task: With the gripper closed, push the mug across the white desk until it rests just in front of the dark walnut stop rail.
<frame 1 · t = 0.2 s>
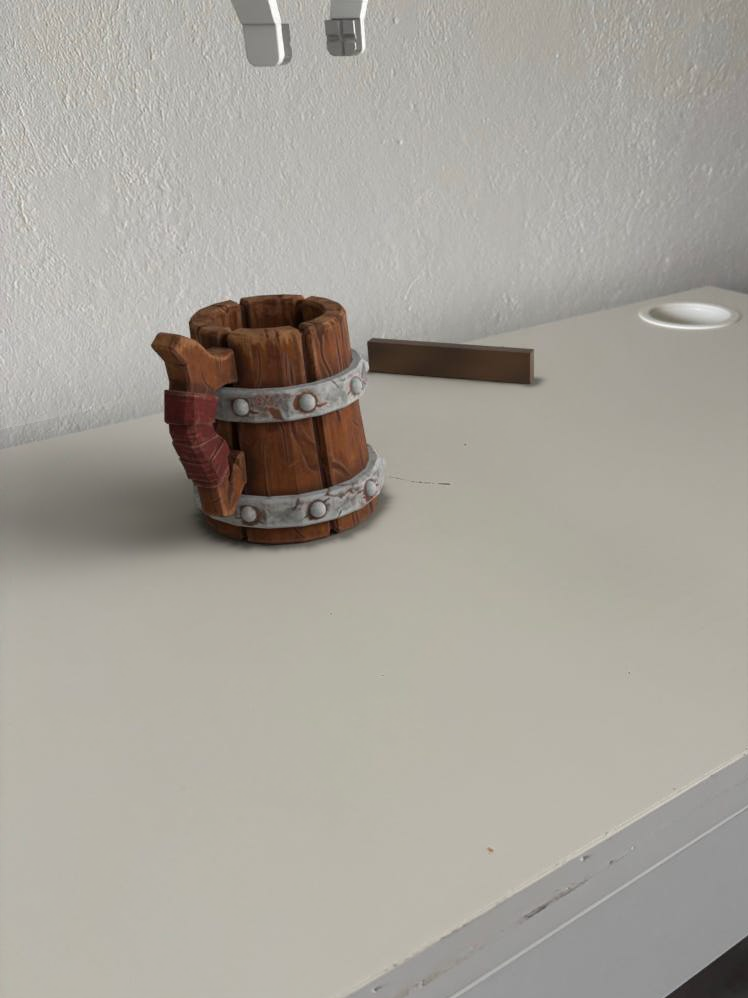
hand: (311, 60, 55), 24 cm above the table, tool pointing down, fingers open, 8 cm apart
stop rail: (450, 375, 85), on the table
mug: (280, 520, 62), on the table
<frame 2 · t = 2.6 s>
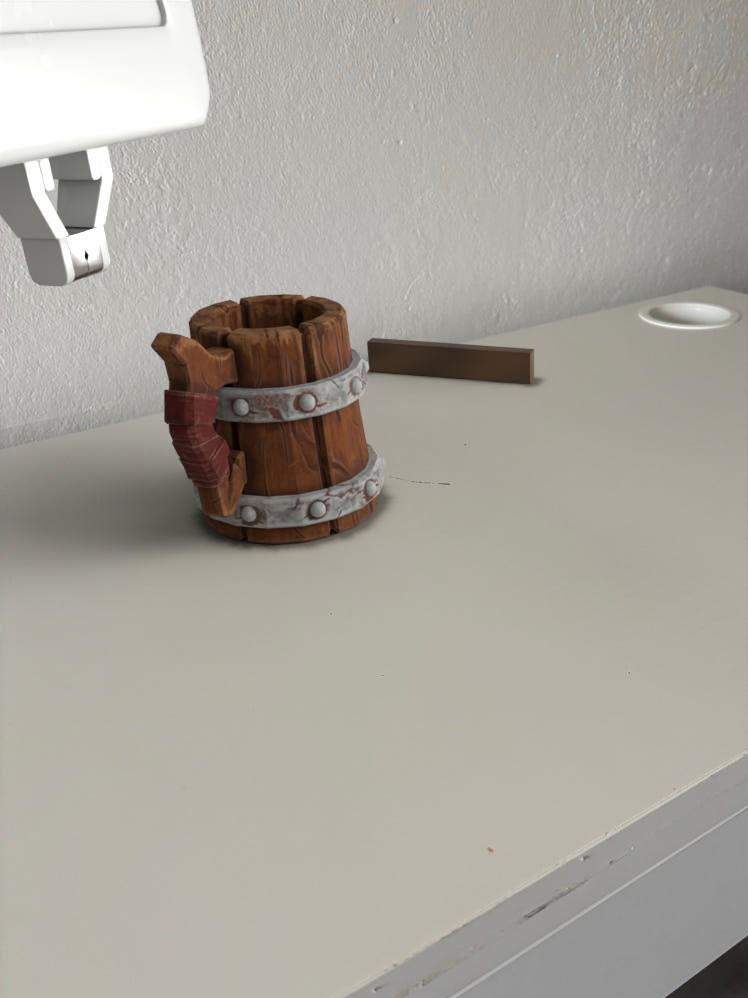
hand: (73, 278, 42), 17 cm above the table, tool pointing down, fingers closed
nothing on the table moved.
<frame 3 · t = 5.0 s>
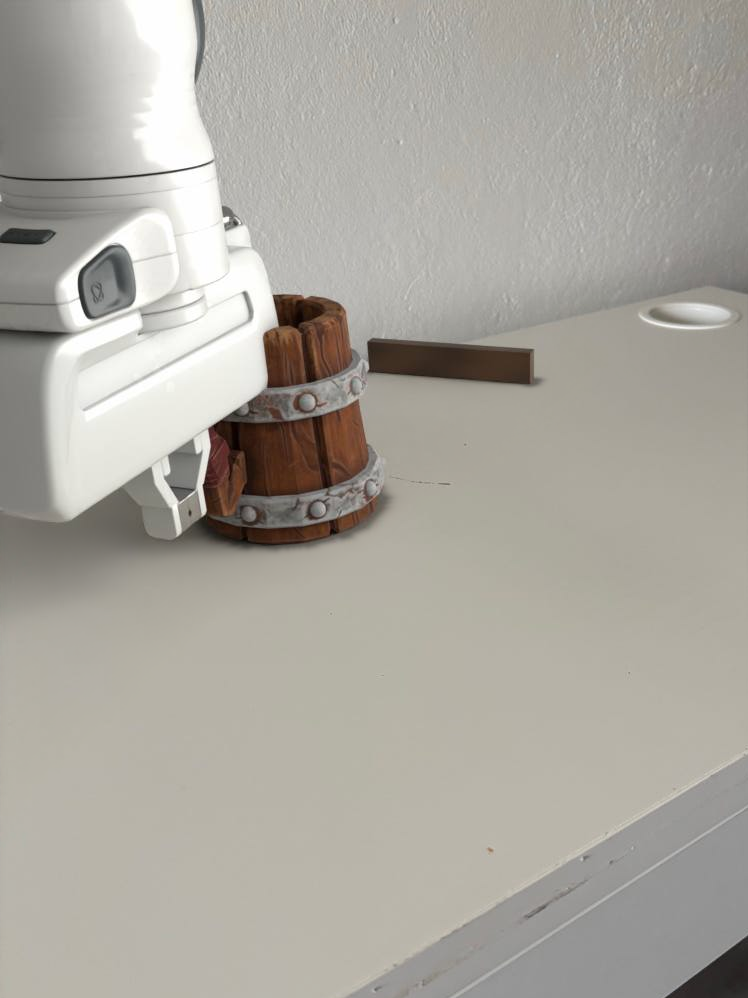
hand: (178, 527, 52), 4 cm above the table, tool pointing down, fingers closed
mug: (280, 520, 62), on the table, touching gripper
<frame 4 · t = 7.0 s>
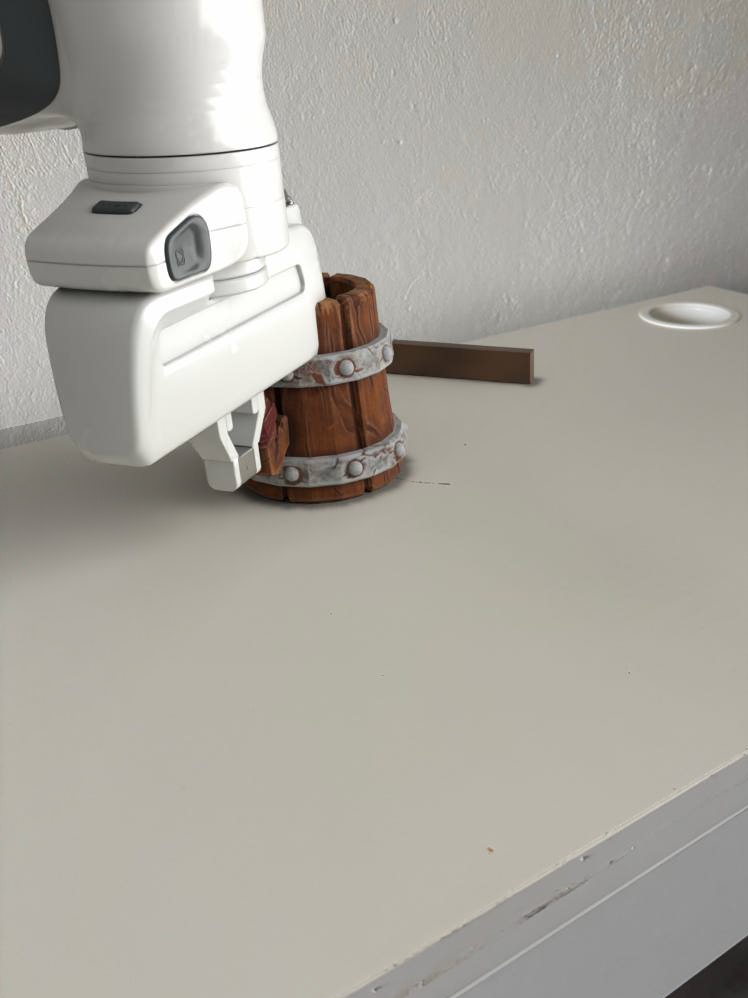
hand: (236, 481, 57), 4 cm above the table, tool pointing down, fingers closed
mug: (314, 483, 67), on the table, touching gripper
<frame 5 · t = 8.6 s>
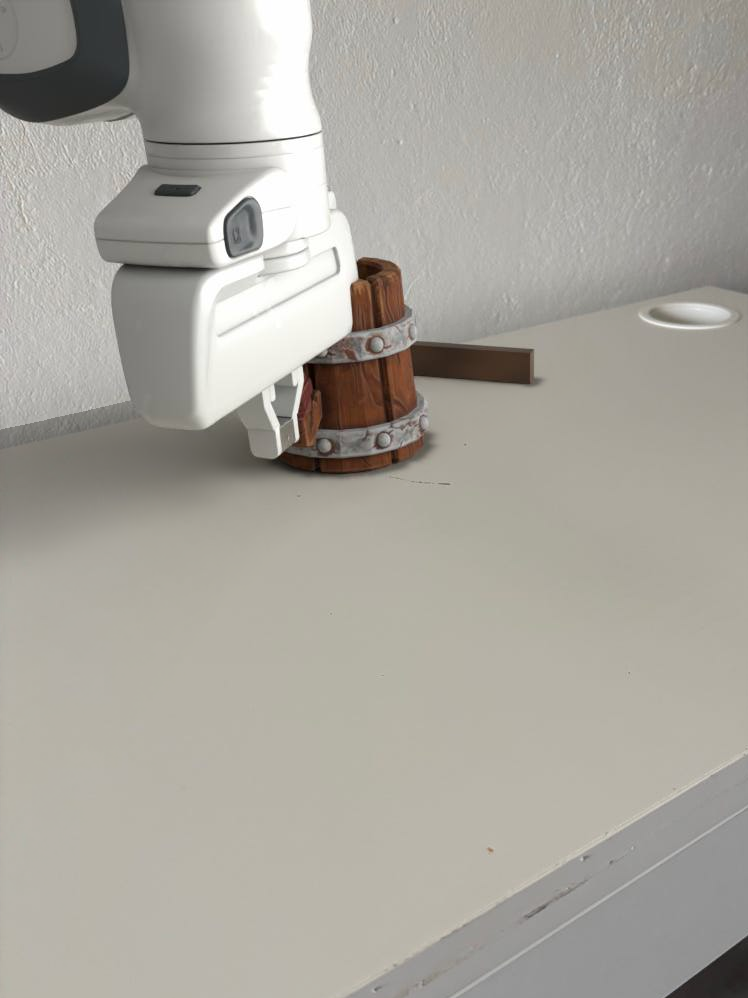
hand: (276, 450, 60), 4 cm above the table, tool pointing down, fingers closed
mug: (342, 455, 71), on the table, touching gripper
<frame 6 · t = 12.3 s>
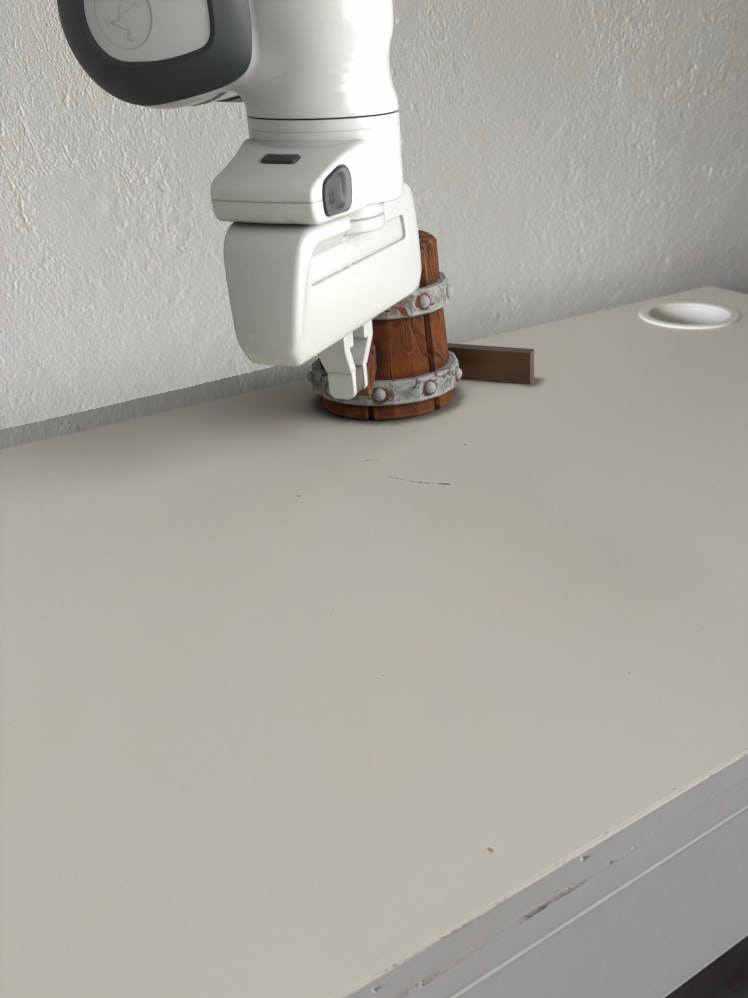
hand: (349, 393, 69), 4 cm above the table, tool pointing down, fingers closed
mug: (384, 407, 79), on the table, touching gripper, stop rail
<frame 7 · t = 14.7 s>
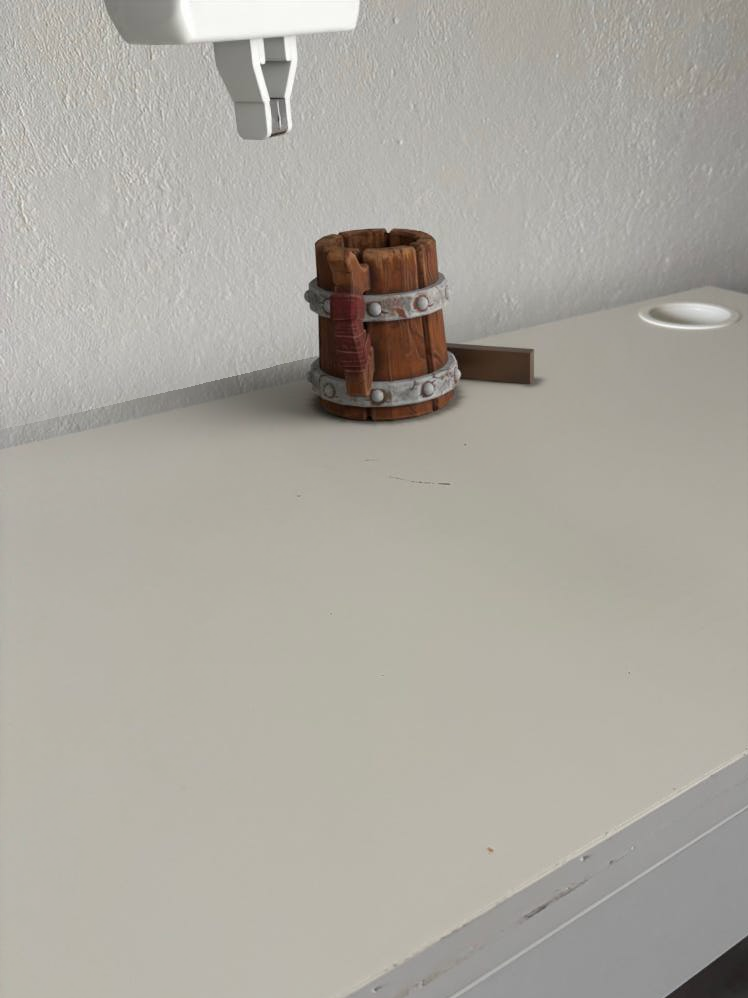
hand: (266, 137, 55), 20 cm above the table, tool pointing down, fingers closed
mug: (383, 407, 79), on the table
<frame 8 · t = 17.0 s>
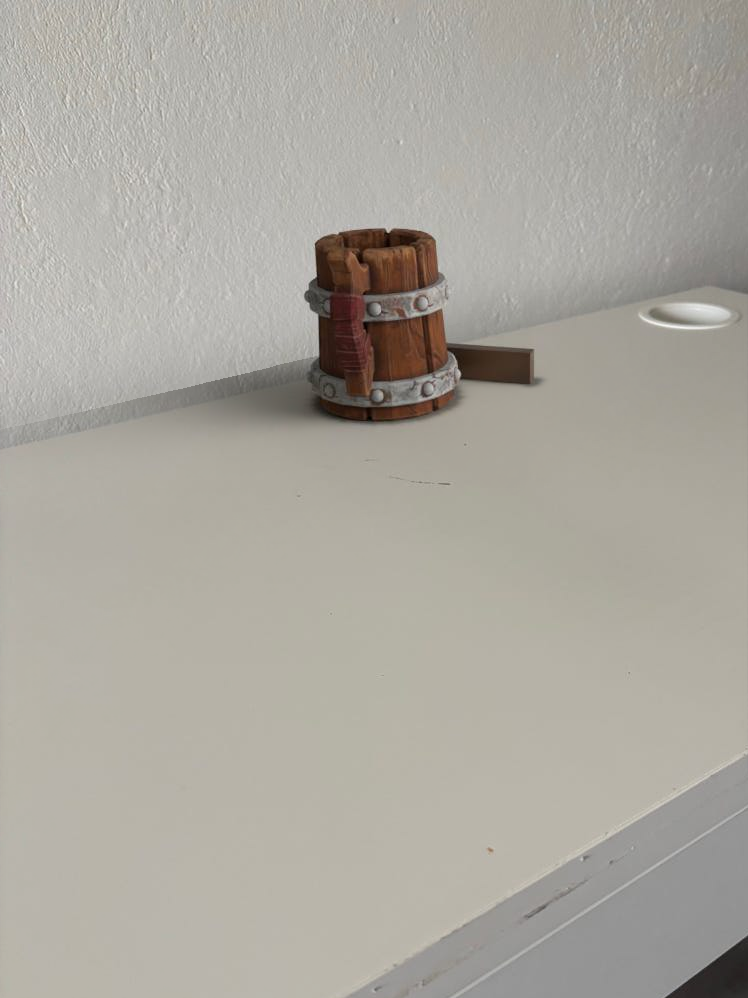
nothing on the table moved.
at the end: mug inside the target area on the table beside the stop rail (2.7 cm from its centre), on the table; mug tilted 2°; mug moved 20.5 cm from its start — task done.
